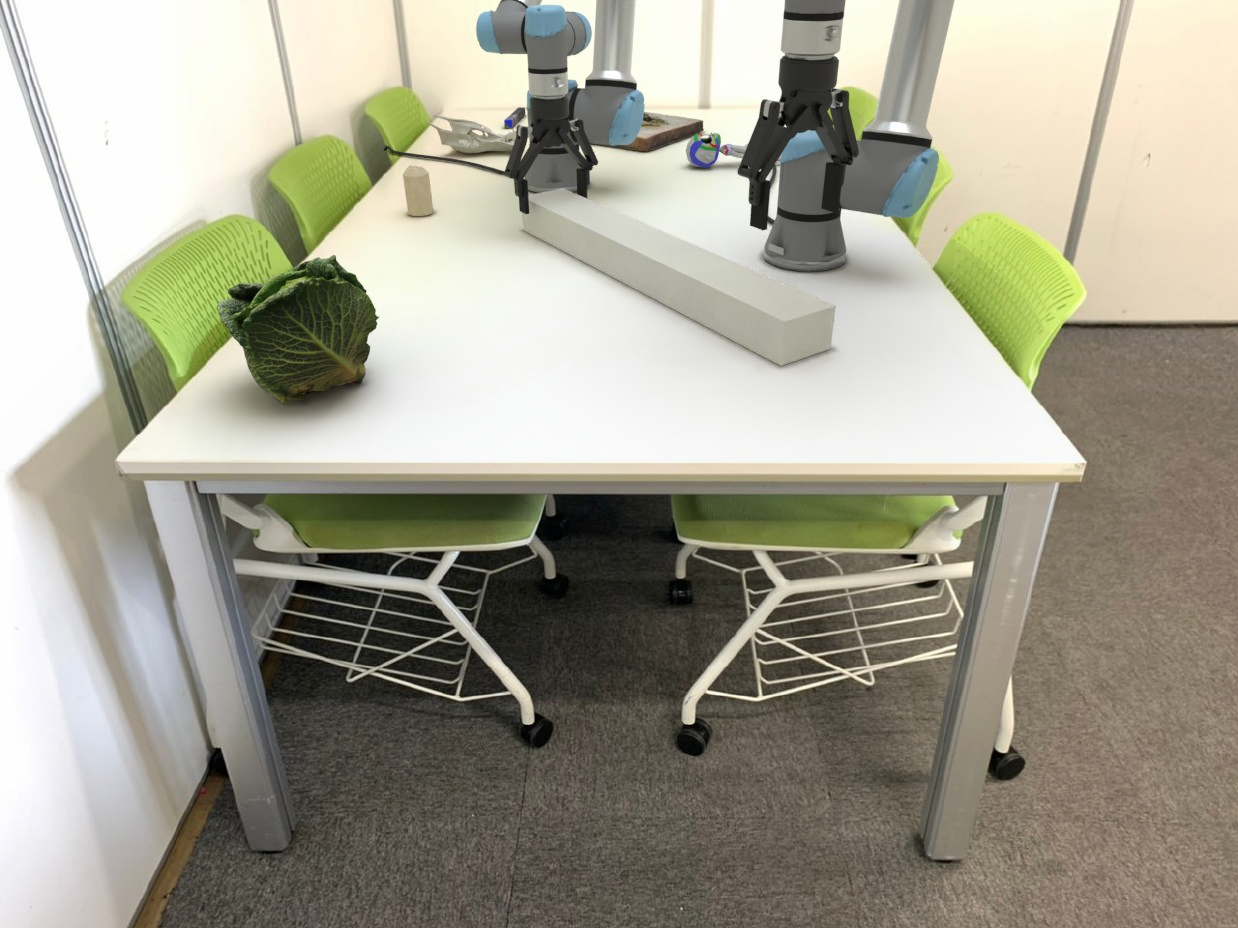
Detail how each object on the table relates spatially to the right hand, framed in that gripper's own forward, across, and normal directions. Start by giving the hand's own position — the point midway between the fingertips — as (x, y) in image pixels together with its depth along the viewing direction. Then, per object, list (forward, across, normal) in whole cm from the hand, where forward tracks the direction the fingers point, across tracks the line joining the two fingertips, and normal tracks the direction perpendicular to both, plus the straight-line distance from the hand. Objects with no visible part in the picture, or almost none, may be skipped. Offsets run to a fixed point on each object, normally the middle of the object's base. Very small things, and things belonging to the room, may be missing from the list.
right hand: (794, 219), depth 127 cm
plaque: (+20, +63, +132) cm, 147 cm away
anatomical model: (+20, +18, +142) cm, 144 cm away
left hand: (+14, 0, +68) cm, 70 cm away
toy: (+20, +66, +87) cm, 111 cm away
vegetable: (+20, -63, +28) cm, 72 cm away
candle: (+20, -18, +98) cm, 101 cm away
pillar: (+20, +44, +170) cm, 177 cm away
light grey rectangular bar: (+20, 0, +34) cm, 40 cm away
